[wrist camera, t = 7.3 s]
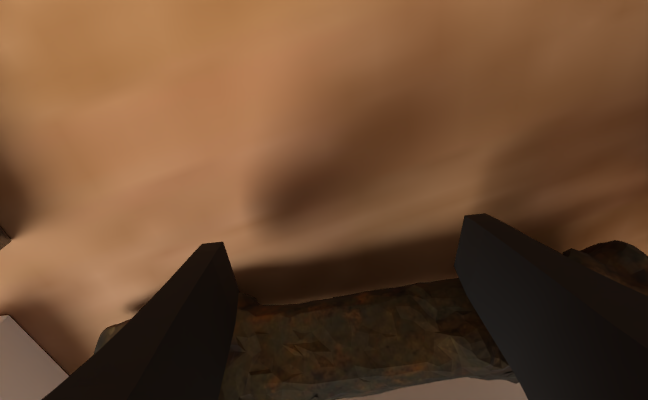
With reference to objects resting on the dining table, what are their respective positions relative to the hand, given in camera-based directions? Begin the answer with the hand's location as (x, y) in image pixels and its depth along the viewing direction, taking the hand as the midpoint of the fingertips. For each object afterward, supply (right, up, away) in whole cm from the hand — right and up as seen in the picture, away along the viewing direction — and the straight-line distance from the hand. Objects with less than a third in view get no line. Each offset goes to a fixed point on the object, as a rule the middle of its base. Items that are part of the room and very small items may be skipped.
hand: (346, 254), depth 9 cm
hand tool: (0, -2, +3) cm, 3 cm away
